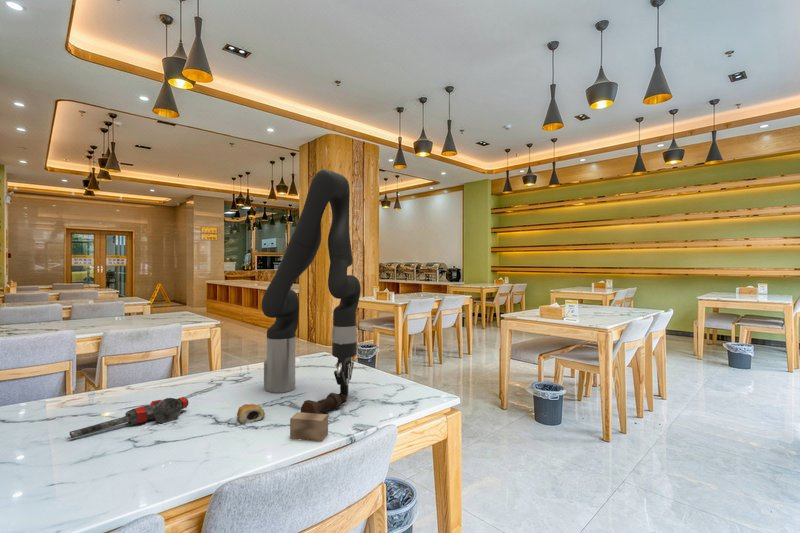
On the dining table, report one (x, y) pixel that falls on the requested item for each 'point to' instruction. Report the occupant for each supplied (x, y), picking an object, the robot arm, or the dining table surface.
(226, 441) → the dining table surface
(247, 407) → the pastry
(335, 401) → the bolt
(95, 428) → the dark long red-banded part
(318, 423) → the brown wooden block
